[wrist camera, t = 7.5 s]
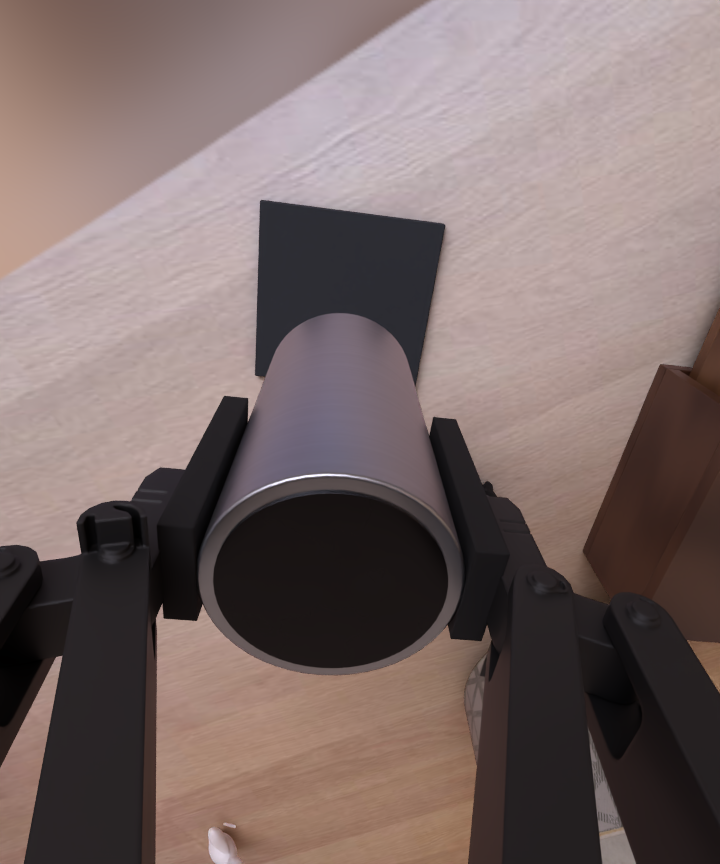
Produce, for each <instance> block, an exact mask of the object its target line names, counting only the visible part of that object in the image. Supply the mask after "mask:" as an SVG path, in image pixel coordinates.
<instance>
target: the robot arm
mask: <svg viewBox="0 0 720 864" xmlns="http://www.w3.org/2000/svg"><path fill="white" fill-rule="evenodd" d="M247 424H248V398H240V397H230V396H224V397H223V399H222V401H221V403H220V405H219V407H218V409H217V411H216V412H215V414H214V416H213V418H212V420H211V422H210V424H209V426H208V428H207V430H206V431H205V433H204V435H203V437H202V439H201V441H200V443H199V445H198V447H197V449H196V451H195V452H194V454H193V456H192V458H191V460H190V462H189V464H188V466H187V468H186V470H182V469H171V468H159V469H157V470H156V471H154V472H153V473H151V474H150V475H148V476H147V477H145V479H144V481H143V482H142V484H141V485H140V487H139V488H138V491H136V493H135V495H134V496H133V498H132V501H130V502H129V501H110V502H105V503H101V504H98V505H96V506H94V507H91V508H89V509H88V510H87V511H85V512H84V513H83V514H81V515H80V517H79V519H78V521H77V523H76V524H77V530H78V536H79V542H80V548H81V554H80V555H77V556H73V557H68V558H62V559H55V560H47V561H40V562H39V558H38V555H37V552H36V551H34V550H32V549H31V548H29V547H26V546H20V545H10V546H1V547H0V767H1V765H2V763H3V761H4V759H5V757H6V755H7V753H8V751H9V749H10V747H11V745H12V743H13V741H14V739H15V737H16V735H17V733H18V731H19V729H20V727H21V725H22V723H23V721H24V719H25V717H26V715H27V713H28V711H29V709H30V707H31V706H32V704H33V702H34V700H35V698H36V696H37V694H38V692H39V690H40V688H41V686H42V684H43V682H44V680H45V678H46V676H47V674H48V672H49V670H50V668H51V666H52V664H53V662H54V660H55V658H56V657H58V656H63V657H62V662H61V667H60V673H59V678H58V683H57V689H56V694H55V700H54V705H53V710H52V716H51V721H50V726H49V732H48V737H47V742H46V748H45V753H44V758H43V764H42V769H41V775H40V780H39V785H38V791H37V796H36V801H35V807H34V812H33V817H32V823H31V828H30V833H29V839H28V844H27V850H26V855H25V860H24V864H155V836H156V695H157V626H156V617H157V614H158V612H159V610H160V607H161V605H162V603H163V615H164V619H178V620H192V621H197V619H198V616H199V613H200V610H201V607H202V604H203V603H202V601H201V597H200V594H199V591H198V586H197V577H196V573H197V558H198V554H199V550H200V546H201V544H202V541H203V539H204V536H205V533H206V531H207V528H208V526H209V523H210V520H211V518H212V515H213V512H214V510H215V507H216V505H217V502H218V499H219V497H220V494H221V492H222V489H223V486H224V484H225V481H226V479H227V476H228V473H229V471H230V468H231V466H232V463H233V460H234V458H235V455H236V452H237V450H238V447H239V445H240V442H241V439H242V437H243V434H244V432H245V429H246V426H247ZM429 438H430V441H431V445H432V448H433V452H434V455H435V459H436V462H437V466H438V469H439V473H440V476H441V480H442V483H443V487H444V490H445V494H446V497H447V501H448V504H449V508H450V512H451V515H452V519H453V522H454V526H455V529H456V533H457V536H458V540H459V543H460V547H461V550H462V554H463V559H464V565H465V583H464V588H463V593H462V597H461V600H460V603H459V605H458V608H457V610H456V612H455V614H454V615H453V617H452V619H451V621H450V622H449V623H448V627H449V632H450V637H451V639H460V640H474V641H482V638H483V635H484V632H485V629H486V626H487V625H488V628H489V632H490V635H491V639H492V641H491V644H490V647H489V650H488V653H487V656H486V659H485V662H484V664H483V667H482V670H481V673H480V676H482V677H485V682H484V694H483V705H482V716H481V727H480V738H479V749H478V760H477V771H476V782H475V793H474V804H473V815H472V826H471V837H470V848H469V859H468V864H602V855H601V845H600V836H599V827H598V817H597V808H596V798H595V789H594V780H593V770H592V761H591V752H590V742H589V733H588V729H589V732H590V734H591V737H592V740H593V743H594V746H595V749H596V751H597V754H598V757H599V760H600V763H601V766H602V768H603V771H604V774H605V777H606V780H607V783H608V785H609V788H610V791H611V794H612V797H613V800H614V802H615V805H616V808H617V811H618V814H619V817H620V819H621V822H622V825H623V828H624V831H625V834H626V836H627V839H628V842H629V845H630V848H631V851H632V853H633V856H634V859H635V862H636V864H720V693H719V692H718V690H717V689H716V687H715V685H714V684H713V682H712V681H711V679H710V677H709V676H708V674H707V673H706V671H705V669H704V668H703V666H702V665H701V663H700V661H699V660H698V658H697V657H696V655H695V653H694V652H693V650H692V648H691V647H690V645H689V644H688V642H687V640H686V639H685V637H684V636H683V634H682V632H681V631H680V629H679V628H678V626H677V624H676V623H675V621H674V620H673V618H672V617H671V616H670V615H669V613H668V612H667V611H666V610H665V609H664V608H663V607H661V606H660V605H659V604H657V603H656V602H655V601H653V600H651V599H649V598H647V597H645V596H643V595H639V594H635V593H632V592H620V593H618V594H616V595H614V596H613V597H612V600H611V602H610V604H609V605H608V604H605V603H602V602H599V601H595V600H592V599H589V598H586V597H583V596H580V595H578V594H575V593H574V592H573V590H572V587H571V584H570V583H569V582H568V581H567V580H566V579H565V578H564V576H562V575H561V574H559V573H558V572H556V571H555V570H553V569H551V568H548V567H547V565H546V563H545V561H544V559H543V557H542V555H541V553H540V551H539V549H538V547H537V545H536V543H535V541H534V538H533V536H532V534H530V530H529V528H528V526H527V524H525V520H524V518H523V516H522V513H521V511H520V509H519V508H517V507H516V506H515V505H514V504H513V503H512V502H511V501H510V500H509V499H508V498H502V497H492V496H487V495H486V493H485V490H484V488H483V485H482V483H481V480H480V478H479V476H478V473H477V471H476V468H475V466H474V463H473V461H472V458H471V456H470V453H469V451H468V448H467V446H466V443H465V441H464V438H463V436H462V433H461V431H460V428H459V426H458V423H457V421H456V419H447V418H437V417H433V421H432V426H431V431H430V435H429Z"/></svg>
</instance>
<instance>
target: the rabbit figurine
mask: <svg viewBox="0 0 720 864" xmlns="http://www.w3.org/2000/svg"><path fill="white" fill-rule="evenodd" d="M223 825H224V826H228V827H233V828H236V825H233V824H228V823H223ZM208 838H209V854H210V857H211V859H212V860H213V861H214V863H215V864H243V862H242V859H241V858H240V857H238V856H237V847H236V845H235V842H234V840H233V839H232V838H231V836H230V835H228V834H227V833H224V832H222V831H221V829H220V828H218V827H211V828H210V829H209V832H208Z"/></svg>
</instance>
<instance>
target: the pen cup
mask: <svg viewBox="0 0 720 864" xmlns="http://www.w3.org/2000/svg"><path fill="white" fill-rule="evenodd" d="M196 577H197V586H198V591H199V594H200V597H201V601H202V603H203V605H204V608H205V610H206V612H207V614H208V615H209V617H210V618H211V620H212V621H213V623H214V624H215V626H216V627H217V628H218V629H219V630H220V631H221V632H222V633H223V634H224V635H225V636H226V637H227V638H228V639H229V640H230V641H231V642H233V643H234V644H235V645H236V646H238V647H239V648H241V649H242V650H244V651H245V652H247V653H248V654H250V655H252V656H254V657H256V658H258V659H260V660H262V661H264V662H267V663H269V664H272V665H274V666H277V667H281V668H284V669H287V670H291V671H296V672H301V673H307V674H317V675H347V674H356V673H362V672H368V671H372V670H376V669H380V668H383V667H386V666H389V665H392V664H395V663H397V662H399V661H401V660H403V659H406V658H408V657H410V656H411V655H413V654H415V653H416V652H418V651H420V650H421V649H423V648H424V647H425V646H426V645H428V644H429V643H430V642H432V641H433V640H434V639H435V638H436V637H437V636H438V635H439V634H440V633H441V632H442V631H443V630H444V628H445V627H446V626H447V624H448V623H449V622H450V621H451V619H452V617H453V615H454V614H455V612H456V610H457V608H458V605H459V603H460V600H461V597H462V593H463V588H464V583H465V565H464V559H463V554H462V550H461V547H460V543H459V540H458V536H457V533H456V529H455V526H454V522H453V519H452V515H451V512H450V508H449V504H448V501H447V497H446V494H445V490H444V487H443V483H442V480H441V476H440V473H439V469H438V466H437V462H436V459H435V455H434V452H433V448H432V445H431V441H430V438H429V434H428V431H427V427H426V424H425V420H424V416H423V413H422V409H421V406H420V402H419V399H418V395H417V392H416V388H415V385H414V381H413V378H412V374H411V371H410V367H409V364H408V361H407V358H406V355H405V353H404V351H403V349H402V347H401V346H400V344H399V343H398V341H397V340H396V339H395V338H394V337H393V336H392V334H391V333H389V332H388V331H387V330H386V329H385V328H384V327H382V326H380V325H379V324H377V323H376V322H374V321H372V320H370V319H367V318H365V317H361V316H358V315H353V314H348V313H332V314H325V315H320V316H317V317H314V318H311V319H309V320H307V321H305V322H303V323H301V324H300V325H298V326H297V327H295V328H294V329H293V330H292V331H291V332H289V333H288V334H287V335H286V336H285V338H284V339H283V340H282V341H281V343H280V344H279V346H278V348H277V349H276V351H275V354H274V356H273V359H272V361H271V364H270V366H269V369H268V372H267V374H266V377H265V379H264V382H263V385H262V387H261V390H260V392H259V395H258V398H257V400H256V403H255V406H254V408H253V411H252V413H251V416H250V419H249V421H248V424H247V426H246V429H245V432H244V434H243V437H242V439H241V442H240V445H239V447H238V450H237V452H236V455H235V458H234V460H233V463H232V466H231V468H230V471H229V473H228V476H227V479H226V481H225V484H224V486H223V489H222V492H221V494H220V497H219V499H218V502H217V505H216V507H215V510H214V512H213V515H212V518H211V520H210V523H209V526H208V528H207V531H206V533H205V536H204V539H203V541H202V544H201V546H200V550H199V554H198V558H197V573H196Z"/></svg>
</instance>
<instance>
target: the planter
mask: <svg viewBox="0 0 720 864" xmlns="http://www.w3.org/2000/svg"><path fill="white" fill-rule="evenodd" d="M486 656H487V654H485V655H484V656H483V657H482V659H481V660H480V661H479V662H478V663H477V664H476V666H475V667H474V669H473V670H472V672H471V674H470V676H469V678H468V680H467V683H466V686H465V691H464V706H465V711H466V715H467V720H468V725H469V730H470V735H471V740H472V744H473V749H474V754H475V759H476V764H477V760H478V749H479V738H480V727H481V716H482V705H483V694H484V682H485V677H482V676H480V673H481V670H482V667H483V664H484V662H485V659H486ZM588 733H589V742H590V752H591V761H592V770H593V780H594V789H595V798H596V808H597V817H598V827H599V836H600V845H601V855H602V864H636V862H635V859H634V856H633V853H632V851H631V848H630V845H629V842H628V839H627V836H626V834H625V831H624V828H623V825H622V822H621V819H620V817H619V814H618V811H617V808H616V805H615V802H614V800H613V797H612V794H611V791H610V788H609V785H608V783H607V780H606V777H605V774H604V771H603V768H602V766H601V763H600V760H599V757H598V754H597V751H596V749H595V746H594V743H593V740H592V737H591V734H590V732H589V729H588Z"/></svg>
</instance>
